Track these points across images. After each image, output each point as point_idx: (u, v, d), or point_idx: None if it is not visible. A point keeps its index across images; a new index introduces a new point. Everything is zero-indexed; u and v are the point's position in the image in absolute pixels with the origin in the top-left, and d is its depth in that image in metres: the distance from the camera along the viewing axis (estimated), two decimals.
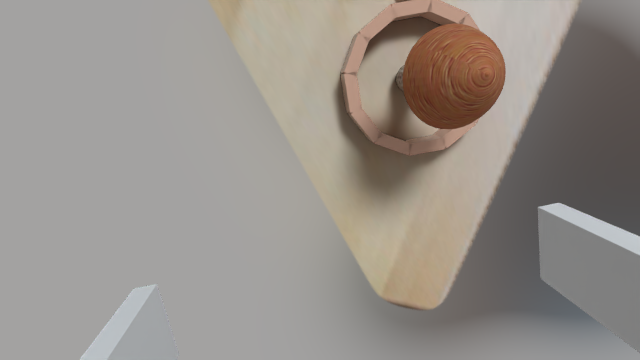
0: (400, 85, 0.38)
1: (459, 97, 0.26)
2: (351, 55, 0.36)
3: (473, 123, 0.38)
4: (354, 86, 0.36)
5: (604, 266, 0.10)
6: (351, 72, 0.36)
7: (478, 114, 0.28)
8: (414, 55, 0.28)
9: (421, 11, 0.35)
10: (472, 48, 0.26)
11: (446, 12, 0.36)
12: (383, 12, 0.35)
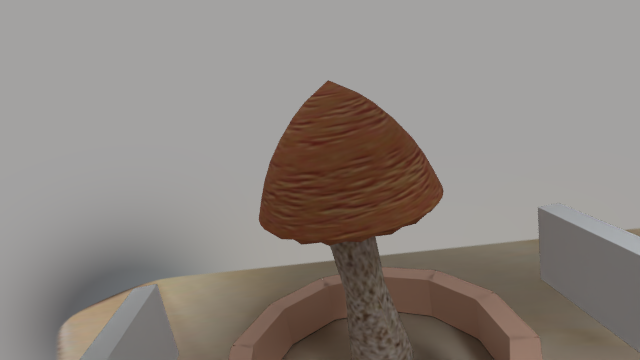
0: None
1: None
2: (459, 280, 0.22)
3: None
4: (411, 275, 0.24)
5: (604, 266, 0.10)
6: (433, 276, 0.23)
7: None
8: None
9: None
10: (377, 108, 0.15)
11: None
12: (523, 324, 0.18)
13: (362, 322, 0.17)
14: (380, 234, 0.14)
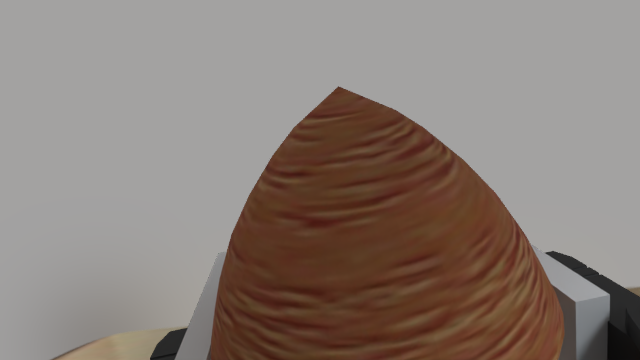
0: None
1: None
2: None
3: None
4: None
5: None
6: None
7: None
8: None
9: None
10: (435, 142, 0.08)
11: None
12: None
13: None
14: None
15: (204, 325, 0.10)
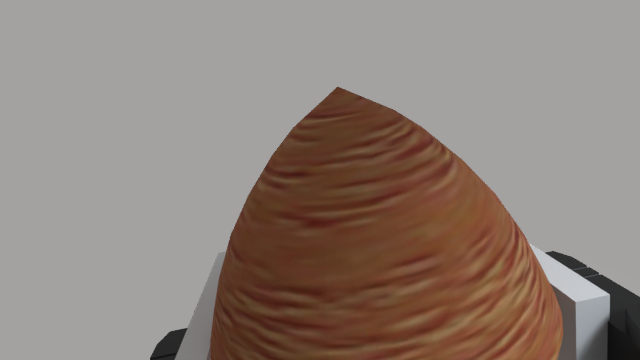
0: None
1: None
2: None
3: None
4: None
5: None
6: None
7: None
8: None
9: None
10: (435, 142, 0.08)
11: None
12: None
13: None
14: None
15: (204, 325, 0.10)
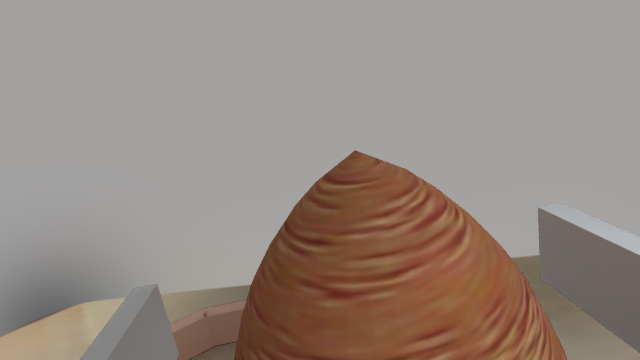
0: None
1: None
2: None
3: None
4: None
5: (604, 265, 0.10)
6: None
7: None
8: None
9: None
10: (449, 206, 0.08)
11: None
12: None
13: None
14: None
15: None
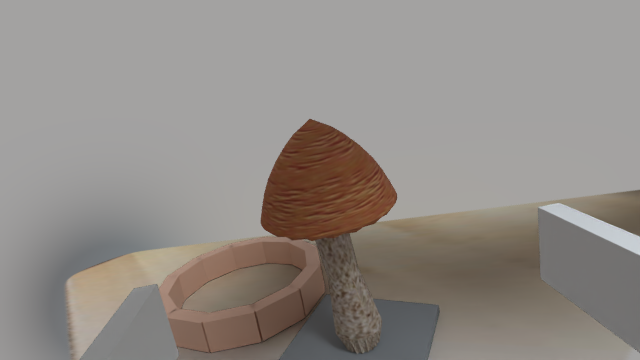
0: None
1: None
2: (304, 241, 0.38)
3: None
4: (280, 240, 0.39)
5: (604, 266, 0.10)
6: None
7: None
8: None
9: (294, 280, 0.31)
10: (346, 139, 0.20)
11: (274, 296, 0.29)
12: (318, 259, 0.34)
13: (340, 298, 0.23)
14: (348, 232, 0.19)
15: None
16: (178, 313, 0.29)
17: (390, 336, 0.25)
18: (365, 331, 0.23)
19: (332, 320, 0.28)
